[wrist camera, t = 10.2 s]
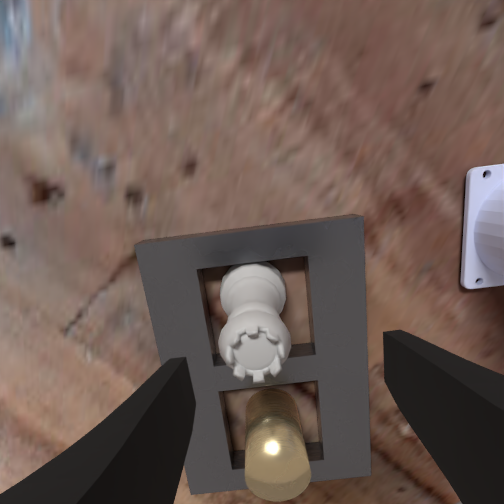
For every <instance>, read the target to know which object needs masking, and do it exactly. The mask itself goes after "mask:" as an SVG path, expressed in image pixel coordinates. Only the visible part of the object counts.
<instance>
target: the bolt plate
mask: <svg viewBox="0 0 504 504" xmlns="http://www.w3.org/2000/svg"><path fill="white" fill-rule="evenodd" d="M134 247H135V251H136V255H137V260H138V264H139V269H140V273H141V277H142V282H143V286H144V291H145V295H146V299H147V304H148V308H149V313H150V317H151V321H152V326H153V330H154V334H155V339H156V343H157V348H158V352H159V356H160V361H161V365H163V364H164V363H165V362H166V361H168V360H169V359H171V358H179V357H186V359H187V363H188V368H189V372H190V377H191V382H192V386H193V391H194V395H195V400H196V410H195V417H194V424H193V430H192V435H191V439H190V443H189V447H188V451H187V455H186V458H185V462H184V466H185V471H186V475H187V479H188V484H189V488H190V493H191V495H194V494H204V493H213V492H222V491H232V490H241V489H249V490H250V491H251V492H252V493H253V494H255V495H256V496H257V497H259V498H262V499H264V500H268V501H286V500H290V499H292V498H295V497H297V496H298V495H300V494H301V493H302V492H303V491H304V490H305V489H306V488H307V486H308V485H309V483H310V482H316V481H326V480H335V479H344V478H354V477H363V476H371V452H370V418H369V385H368V351H367V317H366V284H365V250H364V217H363V216H360V215H356V214H351V215H342V216H334V217H326V218H318V219H310V220H302V221H294V222H286V223H278V224H270V225H262V226H254V227H246V228H238V229H230V230H222V231H214V232H206V233H198V234H190V235H182V236H174V237H166V238H158V239H150V240H143V241H141V242H139V243H137V244H135V245H134ZM300 256H304V264H305V276H306V288H307V300H308V312H309V324H310V337H311V343H304V344H296V345H291V349H290V352H289V355H288V358H287V360H286V361H285V362H284V363H283V364H282V370H281V371H280V372H279V374H278V375H277V376H276V377H274V376H273V375H272V374H271V373H269V374H267V375H264V379H265V383H256V384H253V376H248V375H245V377H244V379H243V380H242V381H241V380H239V379H238V378H236V377H235V376H233V369H232V368H230V367H229V366H227V365H226V363H225V361H224V360H223V358H222V357H221V355H220V353H218V354H216V349H215V344H214V338H213V332H212V326H211V321H210V315H209V309H208V303H207V298H206V292H205V286H204V280H203V274H202V268H210V267H218V266H227V265H235V264H243V263H251V262H259V261H268V260H276V259H284V258H292V257H300ZM306 381H314V385H315V397H316V409H317V421H318V433H319V442H315V443H305V442H304V437H303V433H302V428H301V424H300V419H299V414H298V410H297V405H296V402H295V400H294V399H293V397H292V396H291V395H289V394H288V393H287V392H285V391H282V390H279V389H265V390H262V391H259V392H257V393H256V394H254V395H253V396H252V397H251V398H250V400H249V401H248V403H247V406H246V430H245V450H241V451H233V448H232V442H231V436H230V430H229V424H228V419H227V413H226V407H225V401H224V396H223V391H227V390H236V389H245V388H253V387H262V386H271V385H280V384H289V383H297V382H306Z"/></svg>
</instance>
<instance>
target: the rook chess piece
mask: <svg viewBox="0 0 504 504" xmlns="http://www.w3.org/2000/svg"><path fill="white" fill-rule="evenodd" d="M220 298H221V305H222V307H223V309H224V311H225V312H226V314H227V315H228V321H227V324H226V325H225V326H224V328H223V329H222V330H221V334H220V338H219V341H218V344H219V350H220V355H221V357H222V358H223V360H224V361H225V363H226V365H227V366H229V367H230V368H232V369H233V376H235V377H236V378H238V379H239V380H241V381H242V380H243V379H244V377H245V375H248V376H253V384H256V383H265V379H264V375H267V374H269V373H271V374H272V375H273V376H274V377H276V376H277V375H278V374H279V372H280V371H281V370H282V364H283V363H284V362H285V361H286V360H287V358H288V355H289V352H290V349H291V338H290V333H289V331H288V329H287V328H286V326H285V324H284V323H283V322H282V320H281V318H280V316H279V314H280V313H281V312H282V310H283V307H284V304H285V301H286V289H285V281H284V279H283V277H282V276H281V274H280V272H279V270H278V269H276V268H275V267H274V266H272V265H271V264H270V263H268V262H265V261H259V262H251V263H243V264H235V265H234V266H232V267H231V268H230V269H229V270H228V271H227V273H226V274H225V275H224V276H223V279H222V283H221V287H220Z"/></svg>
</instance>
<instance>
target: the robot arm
mask: <svg viewBox="0 0 504 504" xmlns="http://www.w3.org/2000/svg"><path fill="white" fill-rule="evenodd" d="M484 171H485V172H486V176H485V177H484V178H483V173H484ZM477 279H478V282H477V283H475V282H476V280H477ZM461 285H462V286H463V287H465V288H467V289H476V288H485V287H493V286H502V285H504V164H498V165H490V166H482V167H475V168H472V169H470V170H469V171H468V173H467V176H466V191H465V209H464V228H463V246H462V264H461ZM383 345H384V379H385V383H386V385H387V387H388V389H389V391H390V393H391V395H392V397H393V398H394V400H395V402H396V404H397V406H398V408H399V409H400V411H401V412H402V414H403V415H404V417H405V418H406V420H407V421H408V423H409V424H410V426H411V427H412V429H413V430H414V432H415V433H416V435H417V436H418V437H419V439H420V440H421V442H422V443H423V445H424V446H425V448H426V449H427V451H428V452H429V453H430V455H431V456H432V458H433V459H434V461H435V462H436V464H437V465H438V467H439V468H440V469H441V471H442V472H443V474H444V475H445V477H446V478H447V480H448V481H449V483H450V485H451V486H452V488H453V489H454V491H455V492H456V494H457V495H458V497H459V499H460V501H461V502H462V504H504V375H502V374H499V373H497V372H494V371H492V370H489V369H487V368H485V367H482V366H480V365H477V364H475V363H473V362H471V361H468V360H466V359H464V358H462V357H459V356H457V355H455V354H453V353H451V352H448V351H446V350H444V349H442V348H440V347H438V346H436V345H433V344H431V343H429V342H427V341H425V340H423V339H421V338H419V337H416V336H414V335H412V334H410V333H407V332H405V331H402V330H395V331H387V332H383ZM195 410H196V400H195V395H194V391H193V386H192V382H191V377H190V372H189V368H188V363H187V359H186V357H179V358H171V359H169V360H168V361H166V362H165V363H164V364H163V365H162V366H161V367H160V368H159V369H158V370H157V371H156V372H155V373H154V374H153V375H152V376H151V377H150V378H149V379H148V380H147V381H146V382H145V383H144V384H142V385H141V386H140V387H139V388H138V389H137V390H136V391H135V392H134V393H133V394H132V395H131V396H130V397H129V398H128V399H127V400H126V401H124V402H123V403H122V404H121V405H120V406H119V407H118V408H117V409H115V410H114V411H113V412H112V413H111V414H110V415H109V416H108V417H106V418H105V419H104V420H103V421H102V422H101V423H99V424H98V425H97V426H96V427H95V428H93V429H92V430H91V431H90V432H88V433H87V434H86V435H85V436H83V437H82V438H81V439H79V440H78V441H77V442H76V443H74V444H73V445H72V446H70V447H69V448H68V449H66V450H65V451H64V452H62V453H61V454H60V455H58V456H57V457H55V458H54V459H52V460H51V461H49V462H48V463H46V464H45V465H44V466H42V467H41V468H39V469H38V470H36V471H35V472H33V473H32V474H31V475H29V476H28V477H26V478H25V479H23V480H22V481H20V482H19V483H17V484H16V485H14V486H12V487H11V488H9V489H8V490H6V491H5V492H3V493H1V494H0V504H173V503H174V500H175V496H176V492H177V488H178V485H179V481H180V477H181V473H182V470H183V466H184V462H185V458H186V455H187V451H188V447H189V443H190V439H191V435H192V430H193V424H194V417H195Z"/></svg>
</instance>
